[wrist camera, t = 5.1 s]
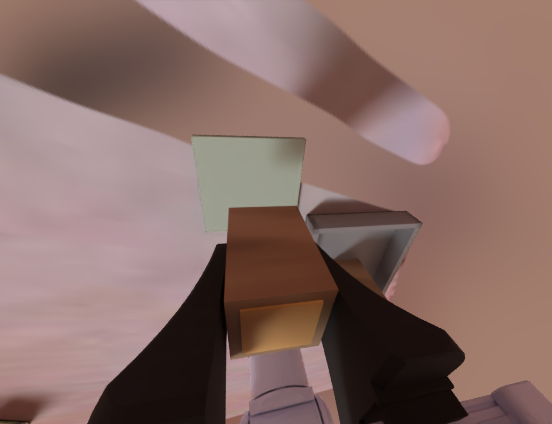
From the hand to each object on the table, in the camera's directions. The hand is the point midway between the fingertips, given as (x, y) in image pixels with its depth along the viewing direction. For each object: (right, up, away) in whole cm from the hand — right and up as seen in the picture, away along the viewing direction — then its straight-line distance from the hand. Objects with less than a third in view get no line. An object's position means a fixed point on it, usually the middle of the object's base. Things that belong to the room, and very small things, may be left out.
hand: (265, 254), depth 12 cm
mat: (-2, +5, +7) cm, 9 cm away
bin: (+9, -3, +15) cm, 18 cm away
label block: (0, +1, +1) cm, 2 cm away
